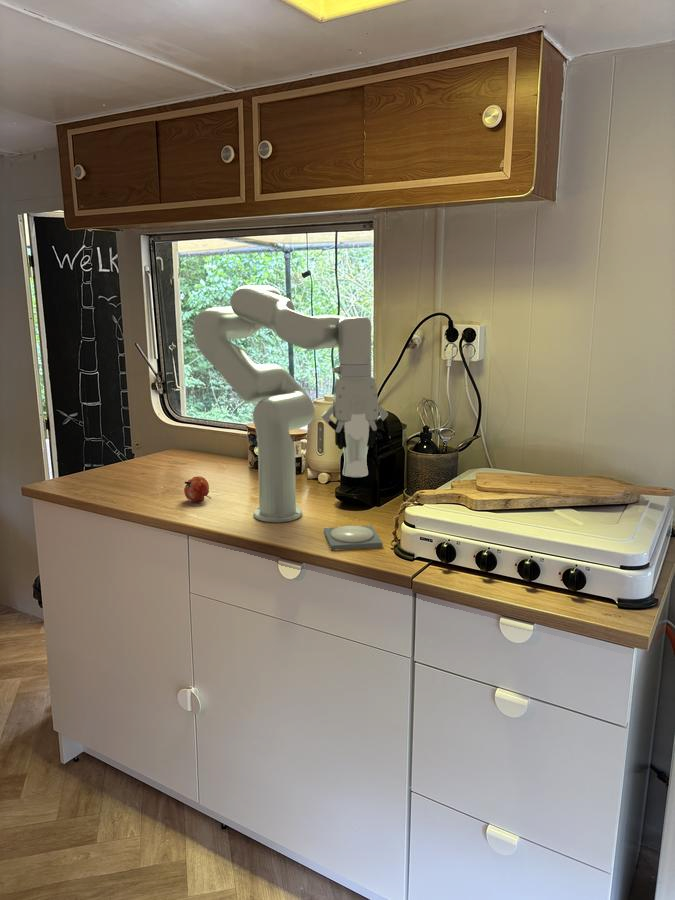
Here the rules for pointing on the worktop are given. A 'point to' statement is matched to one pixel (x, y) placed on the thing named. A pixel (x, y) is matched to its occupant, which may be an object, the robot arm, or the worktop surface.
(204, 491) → the pomegranate
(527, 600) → the worktop surface
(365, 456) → the beer glass
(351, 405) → the robot arm
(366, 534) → the coaster board
